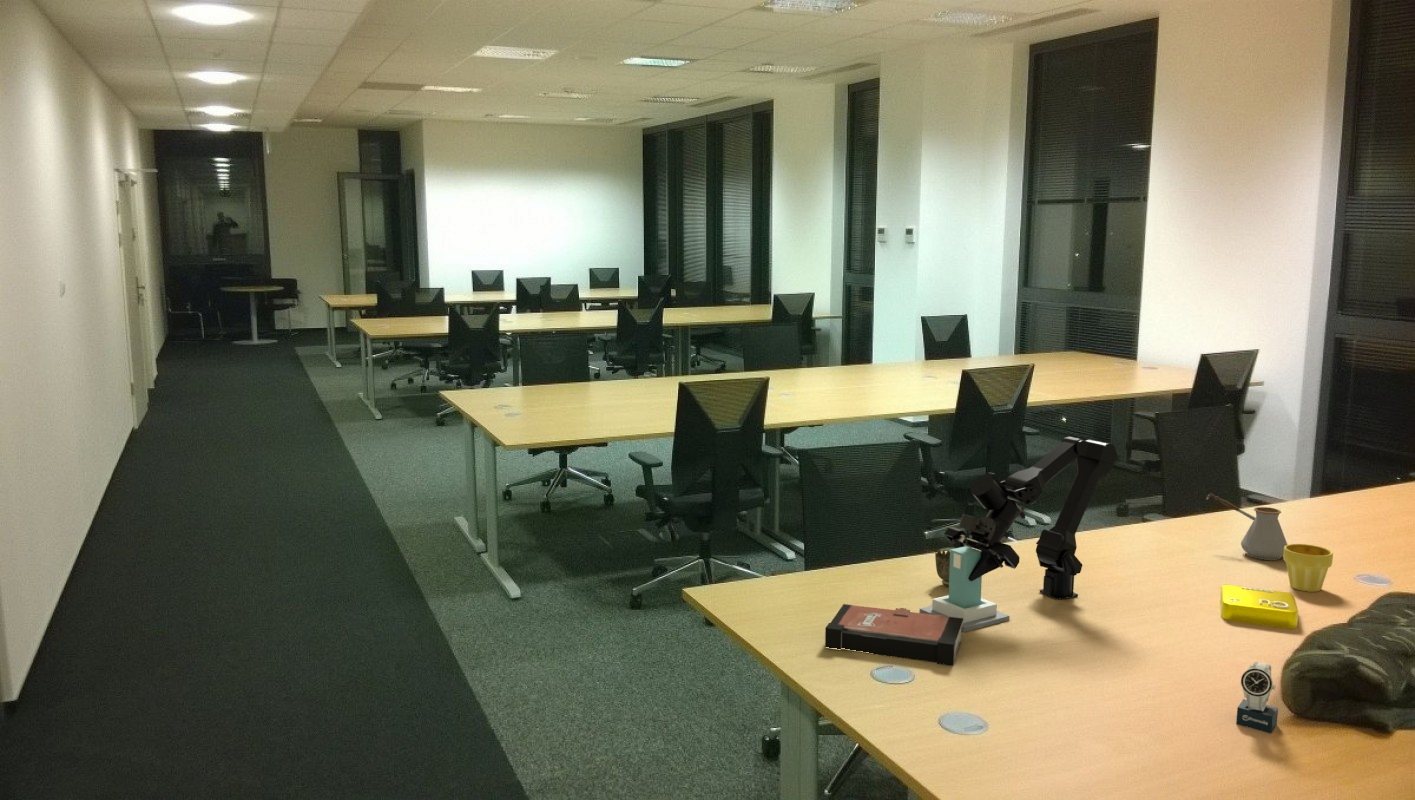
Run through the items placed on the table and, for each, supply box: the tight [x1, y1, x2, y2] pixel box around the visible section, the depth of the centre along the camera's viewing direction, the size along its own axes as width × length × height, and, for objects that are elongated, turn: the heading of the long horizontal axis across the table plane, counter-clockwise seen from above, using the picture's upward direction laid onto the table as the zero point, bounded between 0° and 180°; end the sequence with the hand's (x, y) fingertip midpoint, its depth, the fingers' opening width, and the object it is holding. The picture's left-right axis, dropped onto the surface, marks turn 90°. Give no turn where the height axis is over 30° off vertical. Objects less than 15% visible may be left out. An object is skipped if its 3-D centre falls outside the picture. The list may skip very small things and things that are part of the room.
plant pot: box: [1283, 543, 1334, 593], centre depth 251 cm, size 10×10×10 cm
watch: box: [1235, 661, 1279, 734], centre depth 179 cm, size 6×8×11 cm
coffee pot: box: [1205, 492, 1289, 561], centre depth 279 cm, size 21×12×15 cm, turn 46°
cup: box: [934, 550, 950, 588], centre depth 253 cm, size 8×7×8 cm
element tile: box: [1219, 584, 1299, 630], centre depth 233 cm, size 15×15×5 cm
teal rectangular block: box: [948, 546, 983, 609], centre depth 231 cm, size 5×5×13 cm
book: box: [824, 603, 964, 667], centre depth 217 cm, size 26×18×5 cm
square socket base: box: [918, 594, 1010, 633], centre depth 232 cm, size 14×14×4 cm
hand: (961, 576), depth 230 cm, fingers closed on teal rectangular block, 5 cm apart
